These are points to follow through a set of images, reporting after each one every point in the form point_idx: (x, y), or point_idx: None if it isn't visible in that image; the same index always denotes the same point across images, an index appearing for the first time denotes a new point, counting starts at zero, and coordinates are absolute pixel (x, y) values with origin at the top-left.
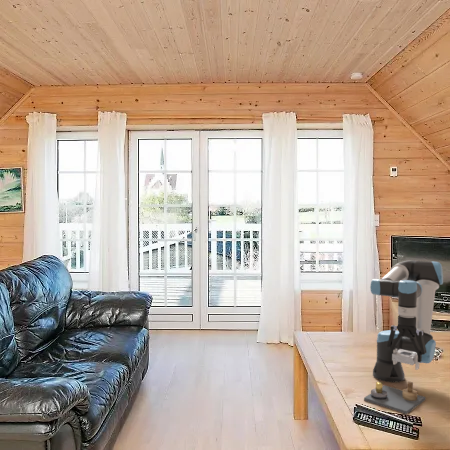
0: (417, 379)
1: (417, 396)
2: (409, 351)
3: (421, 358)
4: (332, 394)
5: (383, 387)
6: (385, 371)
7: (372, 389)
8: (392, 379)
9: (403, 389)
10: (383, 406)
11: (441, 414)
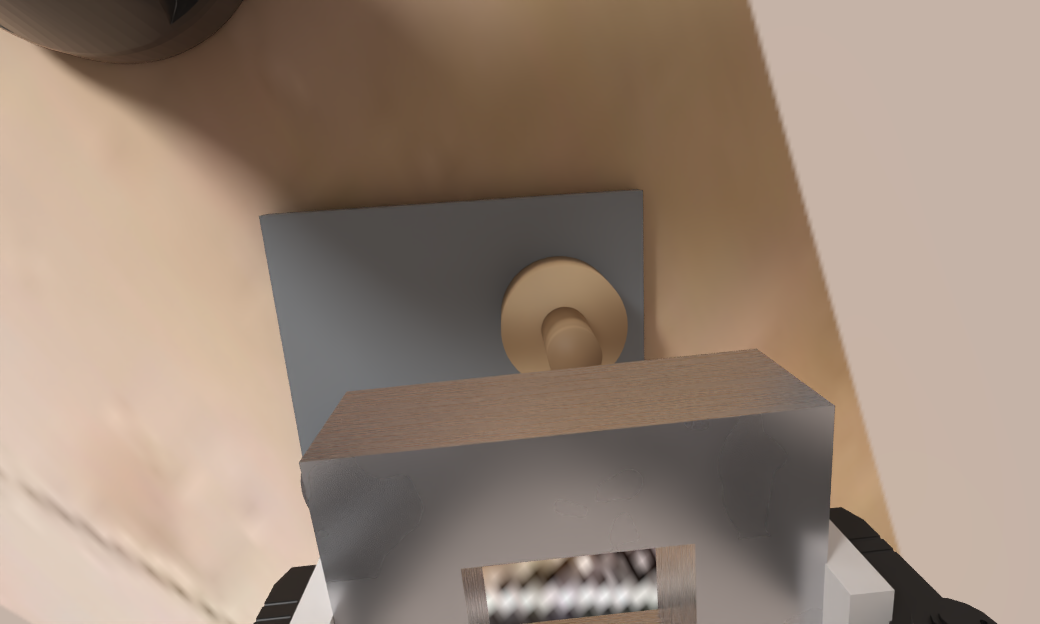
0: None
1: (589, 232)
2: (570, 474)
3: (893, 562)
4: (119, 617)
5: (287, 275)
6: (91, 12)
7: (302, 481)
8: (214, 12)
9: (502, 332)
10: None
11: (815, 346)
